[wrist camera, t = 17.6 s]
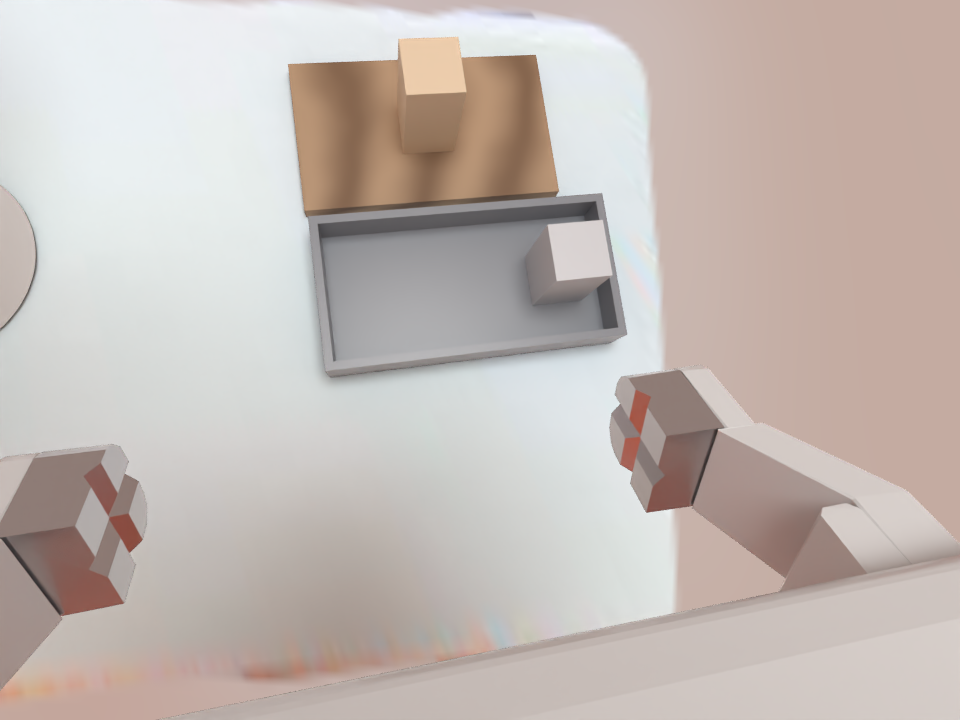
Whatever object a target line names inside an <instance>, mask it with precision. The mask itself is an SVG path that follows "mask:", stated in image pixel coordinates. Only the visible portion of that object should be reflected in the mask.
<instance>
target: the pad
mask: <svg viewBox="0 0 960 720" xmlns="http://www.w3.org/2000/svg"><path fill="white" fill-rule="evenodd" d="M461 59H462V66H463V72H464V79H465V85H466V97H465V101H464V106H463V111H462V115H461V120H460V124H459V129H458V134H457V138H456V143H455V147H454V151H446V152H430V153H414V154H403V148H402V141H401V133H400V126H399V118H398V111H397V84H398V60H386V61H359V62H332V63H305V64H288V67H289V76H290V85H291V94H292V103H293V112H294V121H295V130H296V139H297V148H298V157H299V166H300V175H301V184H302V193H303V202H304V211H305V214H306V217H308V216H319V215H332V214H345V213H358V212H370V211H383V210H396V209H409V208H421V207H434V206H447V205H459V204H472V203H485V202H498V201H510V200H523V199H536V198H548V197H555V196H556V195H557V193H558V192H559V189H558V183H557V177H556V171H555V165H554V159H553V153H552V147H551V141H550V136H549V130H548V124H547V118H546V112H545V106H544V100H543V94H542V88H541V82H540V76H539V70H538V64H537V58H536V55H521V56H494V57H467V58H461Z"/></svg>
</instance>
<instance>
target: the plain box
mask: <svg viewBox="0 0 960 720" xmlns="http://www.w3.org/2000/svg"><path fill="white" fill-rule="evenodd" d="M525 261H526V268H527V274H528V280H529V287H530V293H531V299H532V306H534V305H543V304H552V303H561V302H570V301H579V300H582V299H583V298H584V297H586V296H587V295H588V294H589V293H591V292H592V291H593V290H595V289H596V288H597V287H598V286H600V285H601V284H602V283H604V282H605V281H606V280H607V279H609V278H610V277H611V276H612V275H613V274H612V269H611V263H610V258H609V252H608V246H607V241H606V235H605V229H604V224H603V220H595V221H584V222H572V223H560V224H549V225H547V226H546V228H545V229H544V230H543V232H542V233H541V235H540V236H539V237H538V239H537V240H536V242H535V243H534V245H533V246H532V247H531V249H530V250H529V252H528V253H527V255H526V256H525Z"/></svg>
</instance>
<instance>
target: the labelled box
mask: <svg viewBox="0 0 960 720" xmlns="http://www.w3.org/2000/svg"><path fill="white" fill-rule="evenodd" d="M465 97H466V85H465V79H464V72H463V66H462V59H461V52H460V46H459V39H458V37H445V38H412V39H399V43H398V84H397V111H398V118H399V126H400V133H401V141H402V148H403V154H414V153H430V152H446V151H454V147H455V143H456V138H457V134H458V129H459V124H460V120H461V115H462V111H463V106H464V101H465Z"/></svg>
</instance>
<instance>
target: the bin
mask: <svg viewBox="0 0 960 720" xmlns="http://www.w3.org/2000/svg"><path fill="white" fill-rule="evenodd" d="M595 220H603V224H604V229H605V235H606V241H607V246H608V252H609V258H610V263H611V269H612V274H613V275H612V276H611V277H610V278H609V279H607V280H606V281H605V282H604V283H602V284H601V285H600V286H598V287H597V288H596V289H595V290H593V291H592V292H591V293H589V294H588V295H587V296H586V297H584V298H583V299H582V300H579V301H570V302H561V303H552V304H543V305H534V306H532V299H531V293H530V287H529V280H528V274H527V268H526V261H525V256H526V255H527V253H528V252H529V250H530V249H531V247H532V246H533V245H534V243H535V242H536V240H537V239H538V237H539V236H540V235H541V233H542V232H543V230H544V229H545V228H546V226H547V225H549V224H560V223H572V222H584V221H595ZM308 222H309V231H310V240H311V248H312V257H313V266H314V275H315V284H316V293H317V302H318V311H319V320H320V329H321V338H322V347H323V356H324V365H325V371H326V373H327V374H328V375H329V376H330V377H335V376H343V375H352V374H360V373H368V372H376V371H384V370H392V369H400V368H408V367H417V366H425V365H433V364H441V363H449V362H457V361H465V360H473V359H482V358H490V357H498V356H506V355H514V354H522V353H530V352H539V351H547V350H555V349H563V348H571V347H579V346H587V345H595V344H604V343H611V342H613V341H615V340H617V339H619V338H621V337H623V336H625V335H627V330H626V325H625V319H624V313H623V308H622V302H621V297H620V291H619V285H618V280H617V274H616V268H615V263H614V257H613V252H612V246H611V240H610V235H609V229H608V224H607V218H606V212H605V207H604V201H603V195H602V193H599V194H587V195H574V196H561V197H548V198H536V199H523V200H510V201H498V202H485V203H472V204H459V205H447V206H434V207H421V208H409V209H396V210H383V211H370V212H358V213H345V214H332V215H319V216H308Z"/></svg>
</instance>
